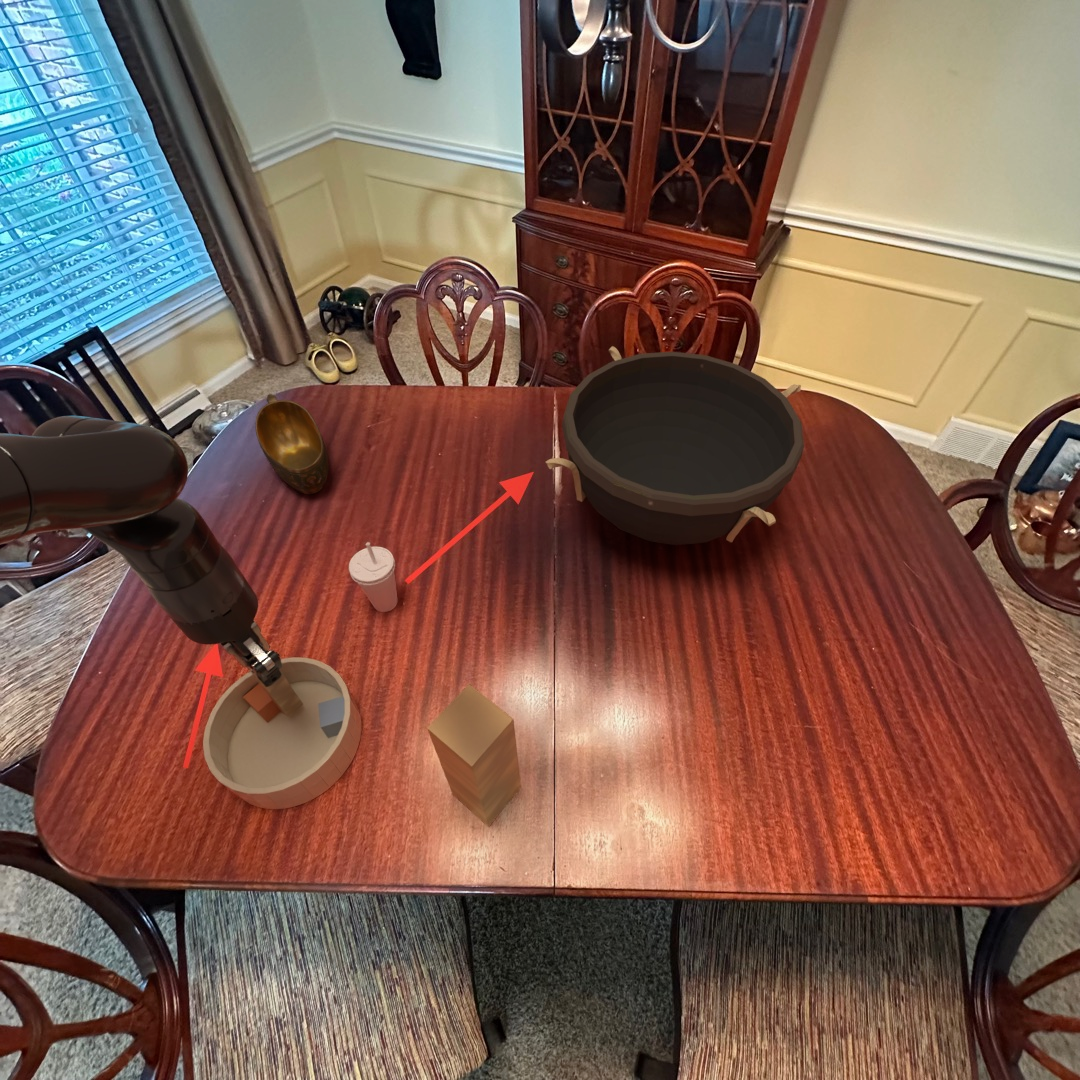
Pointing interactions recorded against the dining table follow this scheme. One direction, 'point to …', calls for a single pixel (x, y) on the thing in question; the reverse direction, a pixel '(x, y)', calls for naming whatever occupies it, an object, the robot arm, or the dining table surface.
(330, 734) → the bluegrey block
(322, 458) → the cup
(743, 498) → the bowl
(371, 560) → the smoothie
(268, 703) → the terracotta block
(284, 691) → the wooden square bar
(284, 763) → the round beige tray
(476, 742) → the oak stand
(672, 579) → the dining table surface
